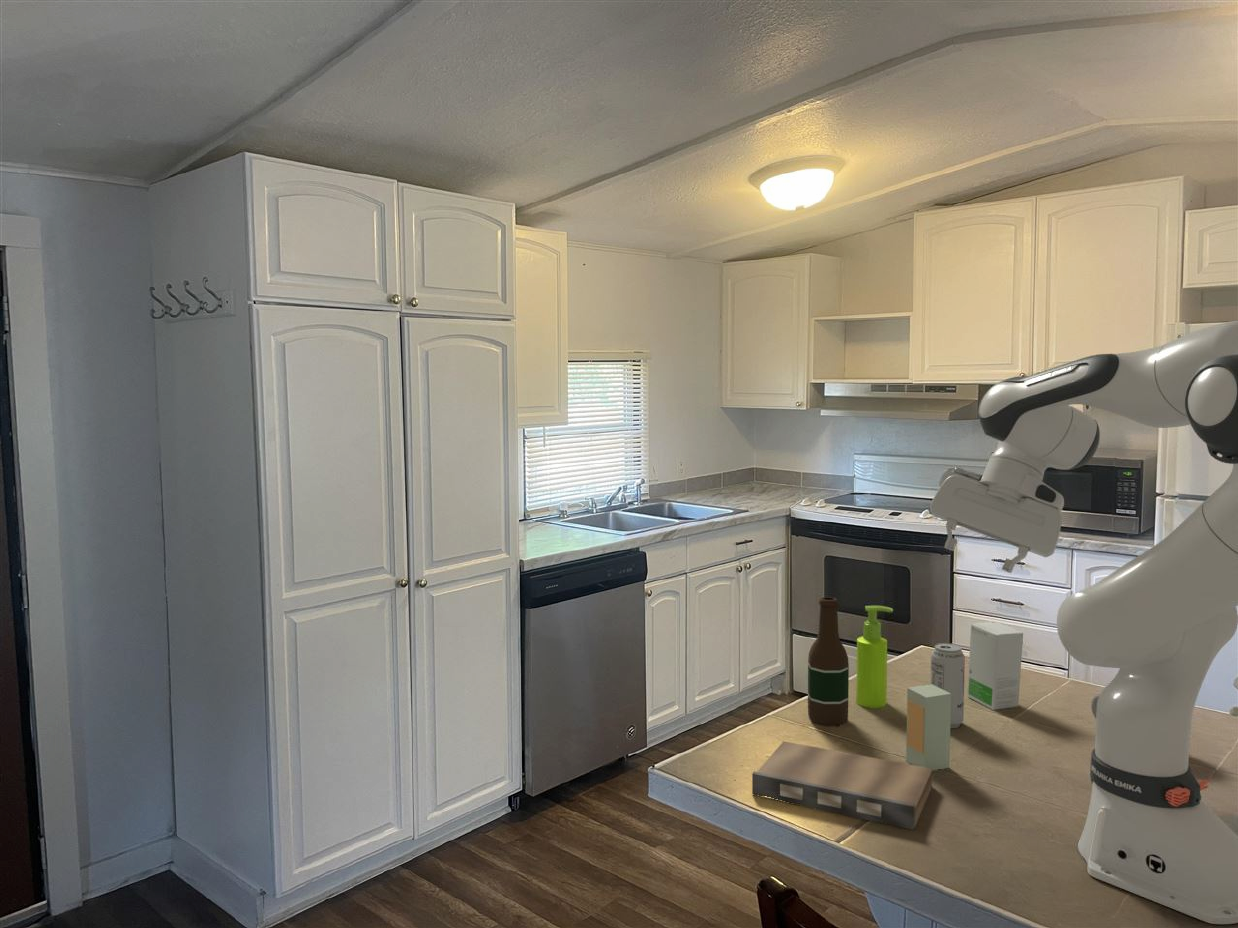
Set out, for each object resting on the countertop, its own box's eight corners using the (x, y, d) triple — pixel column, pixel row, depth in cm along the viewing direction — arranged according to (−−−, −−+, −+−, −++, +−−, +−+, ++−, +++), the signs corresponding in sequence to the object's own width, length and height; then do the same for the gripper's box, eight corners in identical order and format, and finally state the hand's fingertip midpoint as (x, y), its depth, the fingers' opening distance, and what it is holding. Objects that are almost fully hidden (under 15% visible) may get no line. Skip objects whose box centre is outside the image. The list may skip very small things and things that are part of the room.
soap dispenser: (892, 709, 181) (894, 611, 179) (857, 706, 183) (858, 609, 181) (890, 698, 187) (891, 603, 185) (855, 696, 189) (856, 602, 187)
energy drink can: (966, 730, 170) (968, 652, 169) (932, 728, 171) (934, 651, 170) (959, 718, 176) (961, 642, 175) (927, 716, 177) (928, 641, 176)
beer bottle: (856, 723, 174) (858, 600, 172) (822, 729, 172) (823, 605, 169) (832, 709, 182) (833, 591, 179) (799, 715, 179) (800, 595, 176)
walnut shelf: (932, 786, 148) (932, 765, 147) (913, 830, 134) (913, 807, 133) (783, 757, 160) (783, 737, 159) (751, 795, 145) (751, 774, 145)
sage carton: (949, 767, 155) (950, 693, 153) (923, 772, 153) (925, 697, 152) (930, 756, 159) (931, 684, 158) (905, 760, 158) (906, 687, 156)
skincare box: (966, 696, 188) (968, 623, 186) (993, 693, 190) (994, 620, 188) (994, 711, 180) (996, 634, 178) (1021, 707, 182) (1024, 630, 180)
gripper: (946, 457, 153) (914, 531, 151) (1074, 500, 144) (1041, 580, 142) (948, 469, 159) (916, 540, 157) (1071, 511, 149) (1039, 587, 148)
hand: (977, 559), depth 149 cm, fingers open, 8 cm apart
